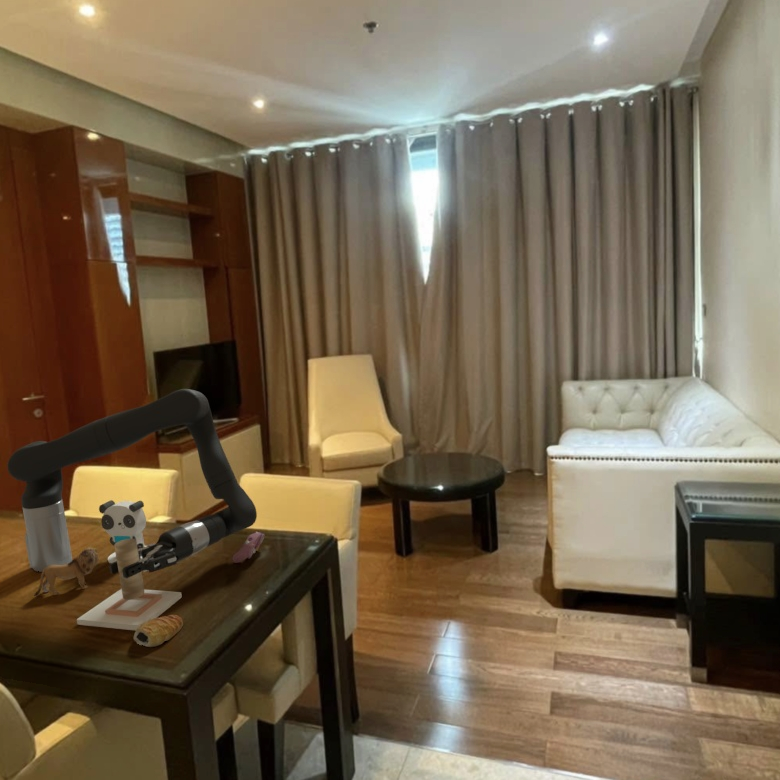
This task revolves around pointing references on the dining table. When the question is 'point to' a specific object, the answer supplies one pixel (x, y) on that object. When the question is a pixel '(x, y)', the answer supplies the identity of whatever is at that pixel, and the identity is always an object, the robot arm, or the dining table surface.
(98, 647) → the dining table surface
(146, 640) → the pastry
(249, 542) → the video game controller
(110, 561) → the panda figurine
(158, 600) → the board
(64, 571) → the lion figurine
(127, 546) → the maple pin
